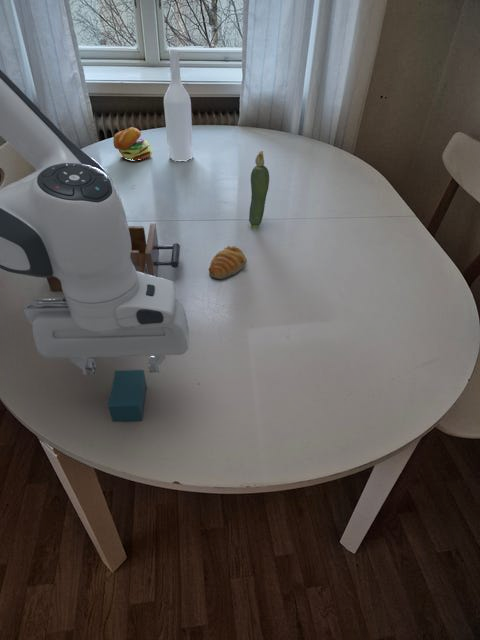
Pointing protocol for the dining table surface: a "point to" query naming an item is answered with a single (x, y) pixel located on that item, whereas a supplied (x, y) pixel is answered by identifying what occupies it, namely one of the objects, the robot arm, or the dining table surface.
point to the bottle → (178, 114)
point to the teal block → (127, 395)
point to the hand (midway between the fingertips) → (122, 370)
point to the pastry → (227, 262)
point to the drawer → (149, 250)
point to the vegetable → (258, 191)
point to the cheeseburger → (131, 144)
